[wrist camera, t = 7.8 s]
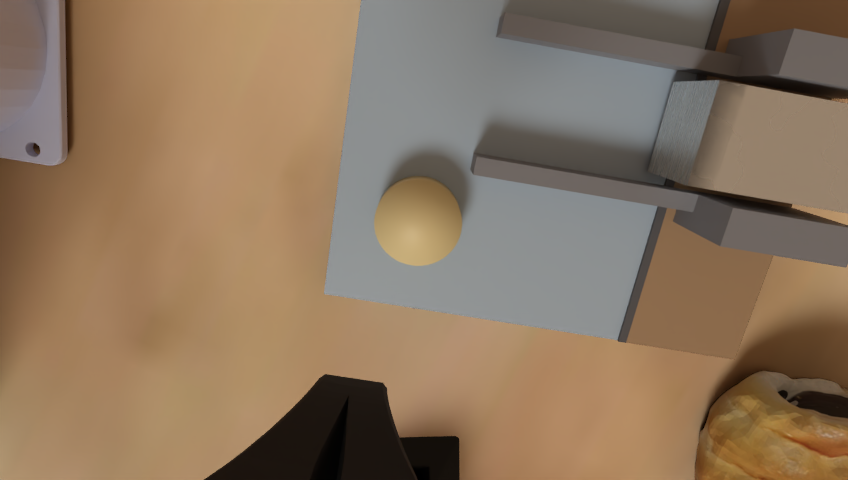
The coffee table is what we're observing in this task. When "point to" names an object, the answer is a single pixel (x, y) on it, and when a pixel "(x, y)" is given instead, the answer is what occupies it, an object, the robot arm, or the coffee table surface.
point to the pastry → (776, 431)
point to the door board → (568, 163)
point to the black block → (433, 457)
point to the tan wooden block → (755, 143)
